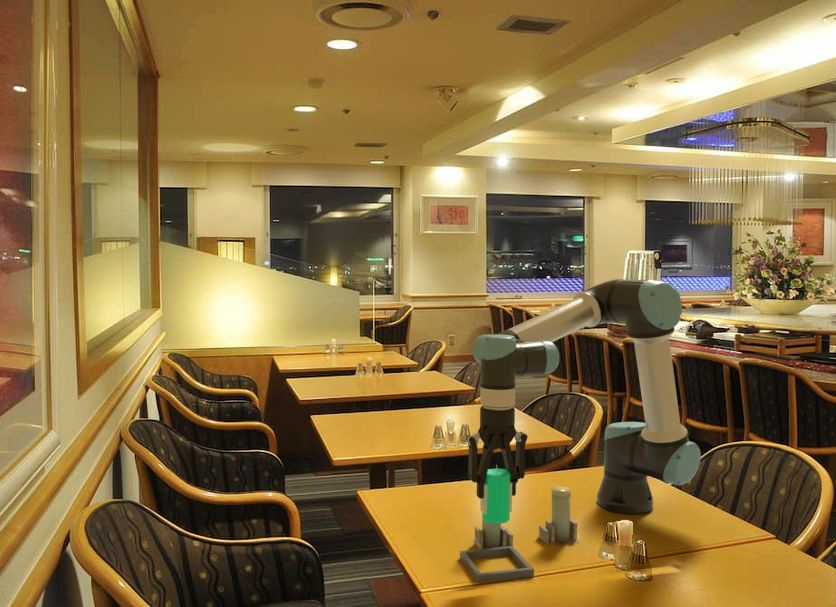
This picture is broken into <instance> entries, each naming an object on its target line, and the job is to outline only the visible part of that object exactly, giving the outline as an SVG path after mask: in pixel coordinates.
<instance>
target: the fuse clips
mask: <svg viewBox="0 0 836 607" xmlns="http://www.w3.org/2000/svg"><path fill="white" fill-rule="evenodd" d="M538 537H539V539H540V540H542V541H543V542H544V543H545V544H549V543H550V542H551V543H552V544H553V545H554V546H555V547H559V546H567V545H568V546H569V545H574V544H575V545H576V544H581V542H580V541H579V540H578V522H576V521H575V520H573V519H572V518H571V517H570V539H569V540H568V541H563V542H562V541H556V540H555V525H554V524H553V523H552V521H551V520H549V519H545V526H544V525H542V524H541V525H540V524H539V526H538ZM472 542H474V545H475V546H476V547H477V548H478V549H487V548H485V547H483V532H482V529H480V528H479V526H475V527H474V539H472ZM506 546H513V547H514V534H513V533H512V532H511V531H510V530H509V529H508V528H505V527H504V526H503V525H502V524H501V532H500V547H506Z"/></svg>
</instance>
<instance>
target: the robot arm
mask: <svg viewBox="0 0 836 607" xmlns="http://www.w3.org/2000/svg"><path fill="white" fill-rule="evenodd" d="M682 314H683V303H682V298H681V296H680V294H679V292H678V291H677V289H676V288H675V287H674V286H673V285H672V284H670V283H669V282H666V281H660V280H659V281H658V280H656V279H624V278H616V279H611V280H608V281H604V282H602V283H598V284H596V285H594V286H591V287H589V288H586V289H585V290H583V291H580V292H577V293H576V294H575V295H574V296H573V298H572V300H569V301H567V302H566V303H563V304H560V305H558V306H557V307H554V308H552V309H550V310H548V311H546V312H543V313H541V314H539V315H537V316H534V317H533V318H531V319H528V320H526V321H523V322H521V323H520V324H519V323H518V324H517V325H514V326H513V327H510V328H508V329H506V330H504V331H501V332H498V333H497V334H491V333H490V334H481V335H479V336H478V337H477V338H476V339H475V340H474V342H473V344H472V349H471V352H472V355H473V356H472V357H473V358H474V360H475V362H477V363H478V364H480V393H479V394H480V396H479V398H480V401H479V402H480V403H479V404H480V405H481V407H480V408H479V429H478V430H477V433H474V434H472V435H471V434H468V435H466V436H465V438H466V442H467V444H468V465H467V466H468V470H467V471H468V472H467V474H468V475H467V477H468V479H469V480H470V481H471V482H472V483H476V496H477V497H478V499H479V500H480V502H479V504H480V506H479V507H480V509H479V510H480V511H481V513H482V512H483V514H484V515H485V514H487V485H486V484H484V483H485V480H486V476H487V472H488V469H490V462H491V459H492V455H494V451H495V450H499V449H500V451H501V454H502V457H503V462H504V465H505V466H504V467H505V470H507V471H508V472H509V473H510V513H512V511H513V497H515V496H516V494H517V484H518V483H519V480H523V479H524V478H525V476H526V474H525V472H526V470H525V466H526V464H525V461H526V444H527V440H528V438H529V437H528V435H527V434H526V433H525V432H523V431H517V429H516V427H515V425H516V424H515V420H516V419H515V418H516V416H515V413H516V412H515V410H516V409H515V407H514V406H515V405H516V379H517V378H519V377H520V378H521V377H530V376H532V377H533V376H539V375H540V376H543V375H547V374H551V373H553V372H555V371H556V369H557V368H558V367H559V363H560V353H559V349H558V347H557V346H556V344H555V343H554V342H556V341H558V340H559V339H562V338H564V337H566V336H569V335H570V334H572V333H574V332H576V331H578V330H581V329H583V328H584V327H587V328H594V327H596V326H598V325H602V324H619V325H625V333H626V336H627V338H629V339H630V340H631V341H633V343H634V351H635V352H634V353H635V359H636V365H637V372H638V379H639V380H638V381H639V387H640V393H641V401H642V408H643V416H644V422H642V421H641V422H640V421H621V422H613V423H611V424H607V426H606V427H605V430H604V438H603V442H604V443H603V451H604V452H603V478H602V479H601V483H600V486H599V488H598V491H597V494H596V503H597V505H598V506H599V507H600V508H603V509H604V510H608V511H610V512H613V513H618V514H628V515H629V514H631V515H632V514H633V515H639V514H645V513H648V512H651V511H652V510H653V509H654V498H653V494H652V491H651V488H650V485H649V481H648V477H649V478H653V479H655V480H659V481H662V482H664V483H665V484H672V485H676V486H683V485H685V484H687V483H689V482H690V481H691V480H692V479H693V478H694V476H695V475H696V473H697V471H698V470H699V466H700V464H701V458H702V456H701V455H702V454H701V449H700V447H699V446H698V445H697V443H695V442H693V441H690V439H689V433H688V429H687V428H686V427H685V426H684V425H683V424H681V419H680V411H679V405H678V396H677V388H676V380H675V374H674V365H673V358H672V350H671V343H670V337H671V336H672V334H674V333H675V331H676V330H675V327H676V326H677V325H678V324H679V322H680V320H681V318H682V317H681V315H682ZM480 440H481V442H482V443H483V445H482V454H481V458H480V460H479V465H478V456H479V455H478V452H479V451H478V449H479V448H478V445H479V441H480ZM513 440H515V461H514V460H513V456H512V447H511V443H512V441H513ZM514 462H515V464H514Z"/></svg>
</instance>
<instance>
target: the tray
mask: <svg viewBox="0 0 836 607" xmlns="http://www.w3.org/2000/svg"><path fill="white" fill-rule="evenodd" d="M503 556H509V557H511V559H513V560H514V562H516V564H517V565H518V566H519V567H520V568H514V569H505V570H497V571H496V570H494V571H486V572H481V570H479V568H478V567H477V566H476V565H475V563H474V562H473V560H474V559H476V560H477V559H485V558H493V557H494V558H495V557H503ZM459 559H460V560H461V562H462V564H463V565H464V566H465V567H466V569H467V570H468V571H469V573H470V574H471V575H472V577H473V578H474V580H475V581H476V582H477V584H482V583H490V582H491V583H492V582H499V581H508V580H517V579H523V578H524V579H525V578H533V577H535V569H534V568H533V566H532V565H531V564H530V563H529V562H528V561H527V560H526V559H525V558H524V556H522V555H521V554H520V553H519V552H518V550H517V549H516V548H514V545H513V546H508V545H506V547H497V548H487V549H479V548H478V549H469V550H461V551H459ZM526 583H529V582H526ZM520 584H521V583H518V585H520ZM509 585H510V586H512V584H511V583H510V584H509ZM501 586H504V584H503V585H501ZM492 587H495V586H493V585H492ZM484 588H487V586H486V587H484Z"/></svg>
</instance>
